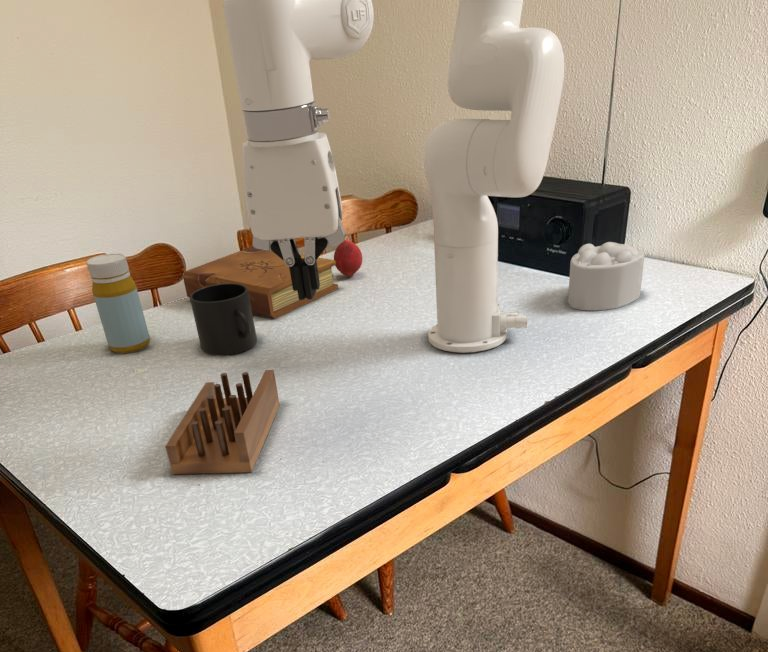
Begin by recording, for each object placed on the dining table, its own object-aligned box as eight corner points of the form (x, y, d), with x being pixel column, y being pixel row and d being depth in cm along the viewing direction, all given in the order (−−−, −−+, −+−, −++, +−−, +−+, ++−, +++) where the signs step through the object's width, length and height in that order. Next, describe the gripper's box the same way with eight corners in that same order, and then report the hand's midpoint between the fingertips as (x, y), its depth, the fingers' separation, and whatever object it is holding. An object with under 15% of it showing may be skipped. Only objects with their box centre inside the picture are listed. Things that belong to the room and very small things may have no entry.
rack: (280, 405, 107) (273, 366, 103) (251, 472, 92) (242, 428, 88) (211, 407, 108) (202, 368, 104) (172, 474, 93) (161, 431, 90)
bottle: (129, 356, 126) (103, 267, 118) (101, 350, 130) (74, 263, 121) (159, 341, 131) (136, 254, 123) (131, 336, 134) (108, 251, 126)
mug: (229, 365, 120) (217, 310, 115) (191, 347, 128) (178, 294, 123) (277, 346, 125) (268, 292, 120) (237, 330, 133) (227, 279, 128)
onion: (363, 280, 151) (359, 239, 146) (334, 282, 151) (330, 241, 146) (364, 271, 155) (360, 231, 151) (336, 273, 156) (332, 233, 151)
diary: (188, 301, 148) (181, 272, 145) (256, 274, 160) (251, 246, 157) (271, 320, 136) (266, 288, 133) (338, 288, 148) (335, 259, 144)
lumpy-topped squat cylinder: (648, 294, 132) (654, 243, 127) (602, 315, 125) (607, 263, 120) (598, 283, 138) (602, 234, 134) (552, 302, 132) (555, 252, 127)
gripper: (355, 112, 81) (373, 281, 92) (222, 125, 83) (254, 288, 94) (346, 125, 75) (366, 303, 86) (202, 138, 77) (239, 311, 88)
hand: (307, 295), depth 90 cm, fingers closed
